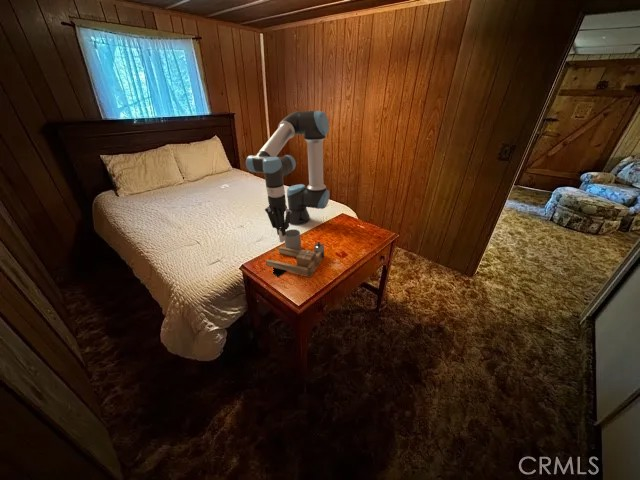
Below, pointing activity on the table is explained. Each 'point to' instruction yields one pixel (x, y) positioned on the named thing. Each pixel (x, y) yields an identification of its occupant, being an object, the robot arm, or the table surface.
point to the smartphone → (278, 272)
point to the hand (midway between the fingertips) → (282, 240)
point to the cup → (293, 239)
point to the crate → (305, 258)
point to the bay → (294, 268)
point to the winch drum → (319, 248)
